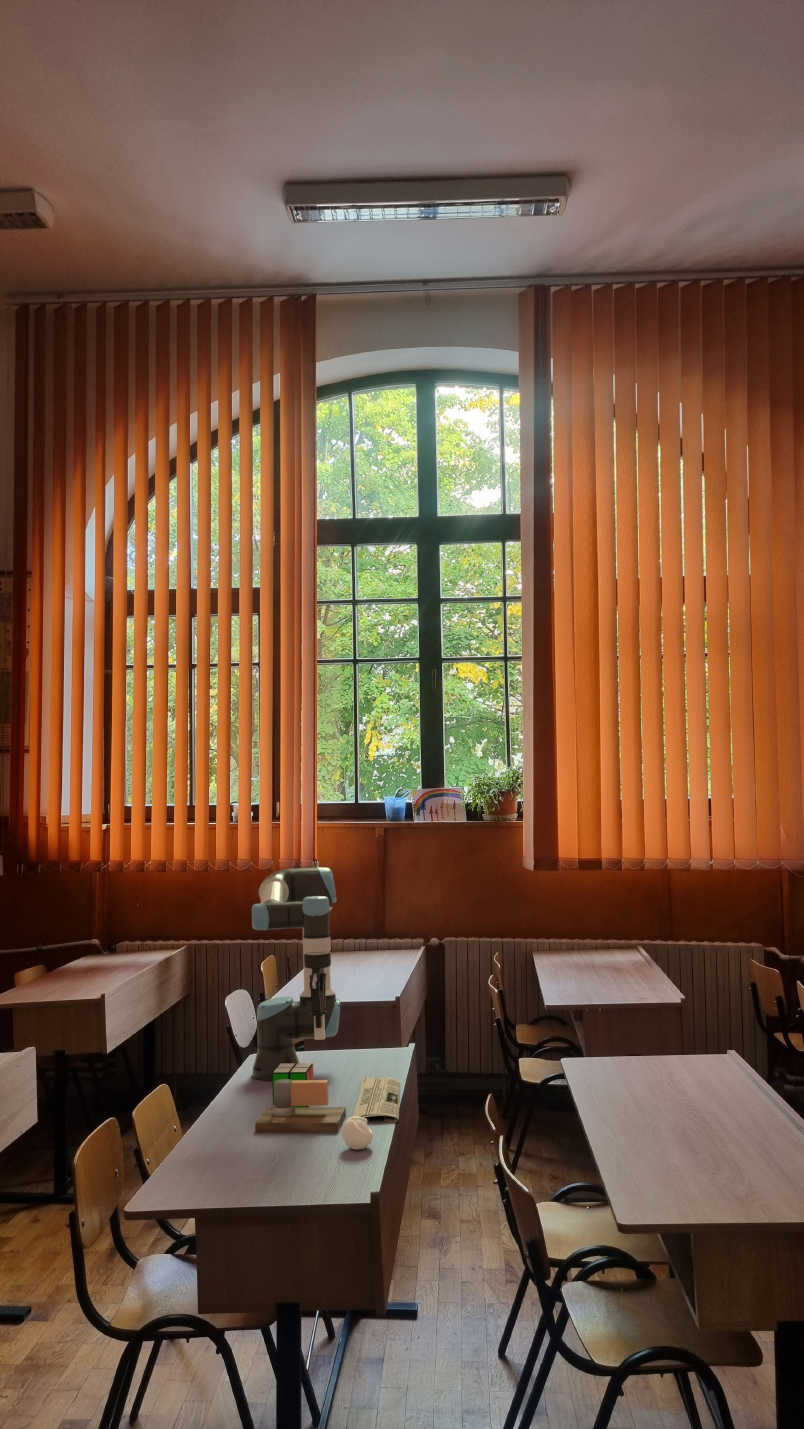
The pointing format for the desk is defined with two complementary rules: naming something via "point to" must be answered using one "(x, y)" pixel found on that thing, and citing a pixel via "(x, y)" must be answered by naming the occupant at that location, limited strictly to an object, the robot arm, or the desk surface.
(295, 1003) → the robot arm
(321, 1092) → the lever
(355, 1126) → the baseball
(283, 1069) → the puzzle cube
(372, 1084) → the newspaper
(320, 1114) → the plate
